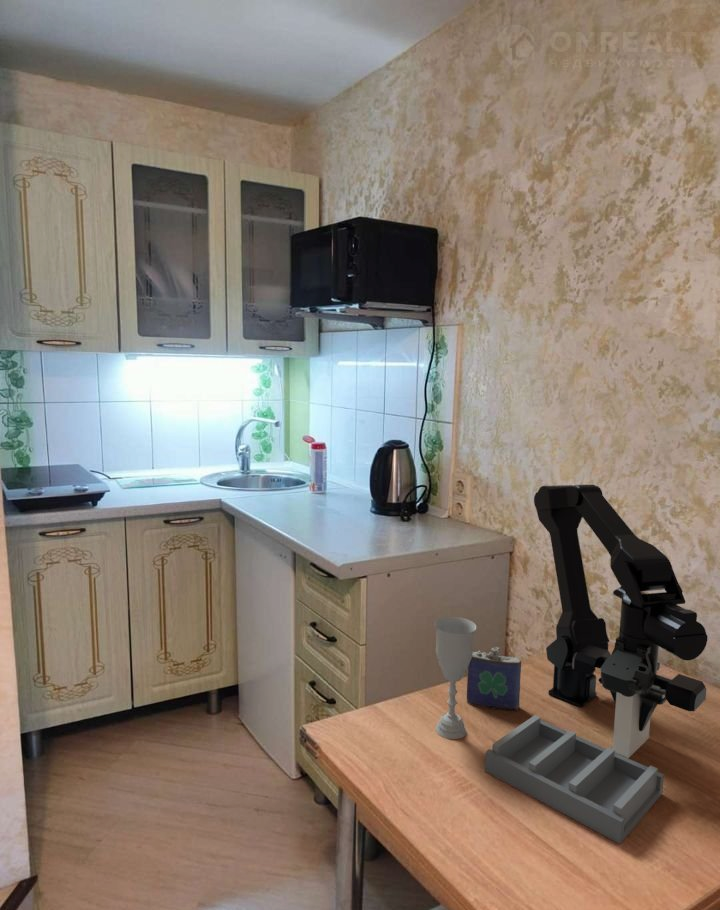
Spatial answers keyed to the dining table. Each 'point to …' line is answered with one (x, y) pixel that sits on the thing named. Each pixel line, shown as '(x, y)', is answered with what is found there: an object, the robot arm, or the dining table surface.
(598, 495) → the robot arm
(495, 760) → the rack
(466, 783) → the dining table surface
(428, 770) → the dining table surface
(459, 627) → the chalice
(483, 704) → the flask
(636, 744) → the white rectangular block
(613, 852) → the dining table surface
